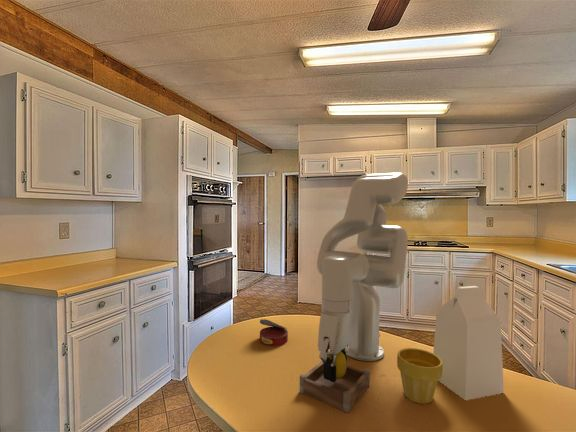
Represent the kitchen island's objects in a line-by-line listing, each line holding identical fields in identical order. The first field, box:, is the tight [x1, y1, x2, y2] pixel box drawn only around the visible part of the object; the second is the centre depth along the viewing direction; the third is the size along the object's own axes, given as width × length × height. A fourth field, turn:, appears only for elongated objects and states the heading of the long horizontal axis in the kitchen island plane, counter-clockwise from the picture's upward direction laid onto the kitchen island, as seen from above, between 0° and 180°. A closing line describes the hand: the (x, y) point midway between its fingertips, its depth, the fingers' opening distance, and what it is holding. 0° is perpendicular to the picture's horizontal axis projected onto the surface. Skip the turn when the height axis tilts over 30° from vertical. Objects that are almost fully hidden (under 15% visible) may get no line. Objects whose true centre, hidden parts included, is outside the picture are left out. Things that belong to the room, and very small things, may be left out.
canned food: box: [259, 318, 289, 347], centre depth 109 cm, size 11×10×10 cm
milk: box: [432, 285, 505, 401], centre depth 82 cm, size 12×12×26 cm
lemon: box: [328, 349, 348, 380], centre depth 80 cm, size 6×6×8 cm
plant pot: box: [396, 347, 443, 404], centre depth 77 cm, size 10×10×10 cm
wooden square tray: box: [299, 360, 371, 414], centre depth 80 cm, size 14×14×4 cm
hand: (335, 373), depth 80 cm, fingers closed on lemon, 5 cm apart
